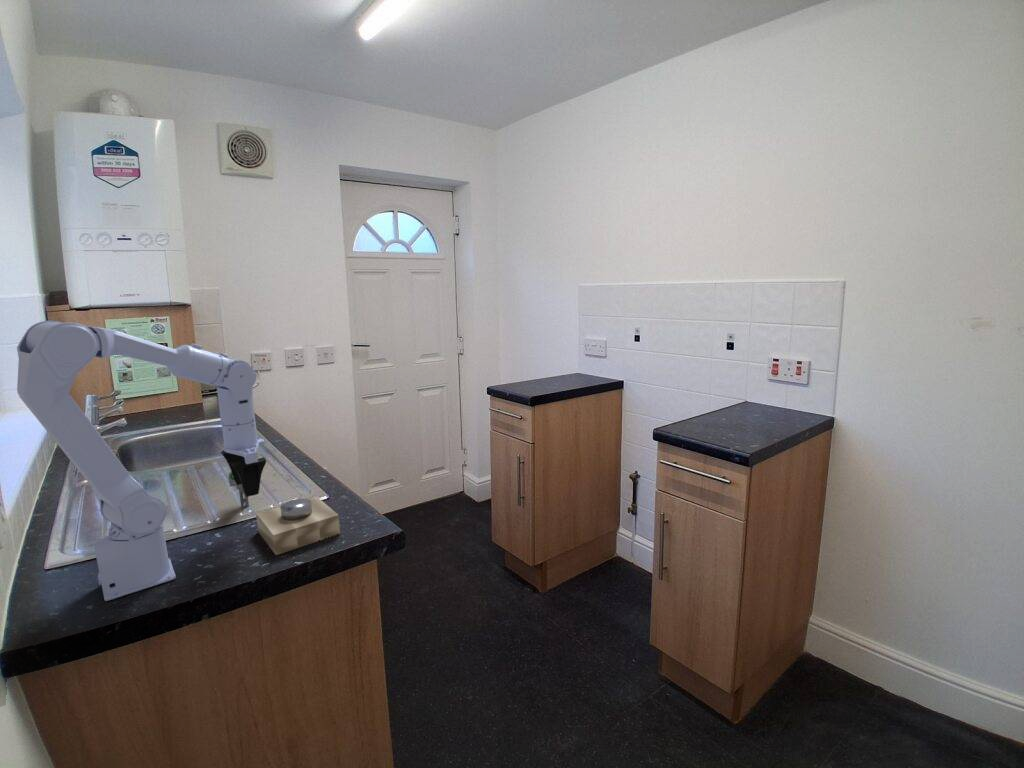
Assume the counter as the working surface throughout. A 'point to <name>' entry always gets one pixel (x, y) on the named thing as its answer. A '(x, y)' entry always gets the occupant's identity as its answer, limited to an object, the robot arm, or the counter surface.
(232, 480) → the mechanical component
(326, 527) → the block
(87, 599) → the counter surface
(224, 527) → the counter surface
